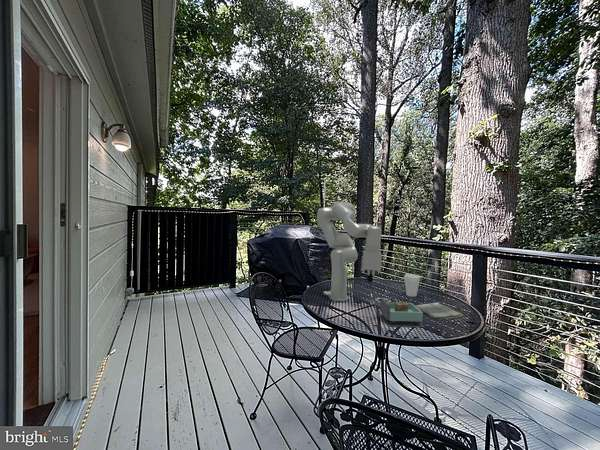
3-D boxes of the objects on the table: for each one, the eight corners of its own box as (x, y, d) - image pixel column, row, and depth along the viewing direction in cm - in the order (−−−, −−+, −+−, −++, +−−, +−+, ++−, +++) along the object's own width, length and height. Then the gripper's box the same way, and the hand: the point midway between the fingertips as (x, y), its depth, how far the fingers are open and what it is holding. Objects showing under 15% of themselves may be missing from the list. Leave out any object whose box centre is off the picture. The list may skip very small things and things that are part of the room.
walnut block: (398, 314, 150) (398, 305, 150) (394, 311, 155) (395, 301, 155) (407, 314, 150) (408, 305, 150) (404, 311, 155) (404, 301, 155)
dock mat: (388, 326, 145) (388, 326, 145) (378, 314, 161) (378, 313, 161) (425, 327, 145) (425, 327, 145) (411, 314, 162) (411, 314, 162)
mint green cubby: (387, 325, 146) (388, 305, 145) (379, 314, 160) (380, 296, 159) (422, 325, 146) (423, 306, 146) (410, 315, 160) (412, 297, 160)
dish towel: (435, 320, 156) (435, 314, 156) (414, 308, 173) (414, 303, 173) (464, 318, 161) (465, 312, 160) (441, 306, 178) (441, 301, 178)
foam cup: (411, 298, 191) (412, 278, 190) (400, 293, 200) (401, 274, 199) (422, 296, 196) (423, 276, 195) (410, 292, 204) (412, 273, 203)
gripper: (360, 249, 157) (357, 283, 159) (388, 251, 157) (385, 284, 159) (357, 246, 164) (354, 279, 166) (384, 248, 164) (381, 280, 166)
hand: (369, 281), depth 163 cm, fingers closed
